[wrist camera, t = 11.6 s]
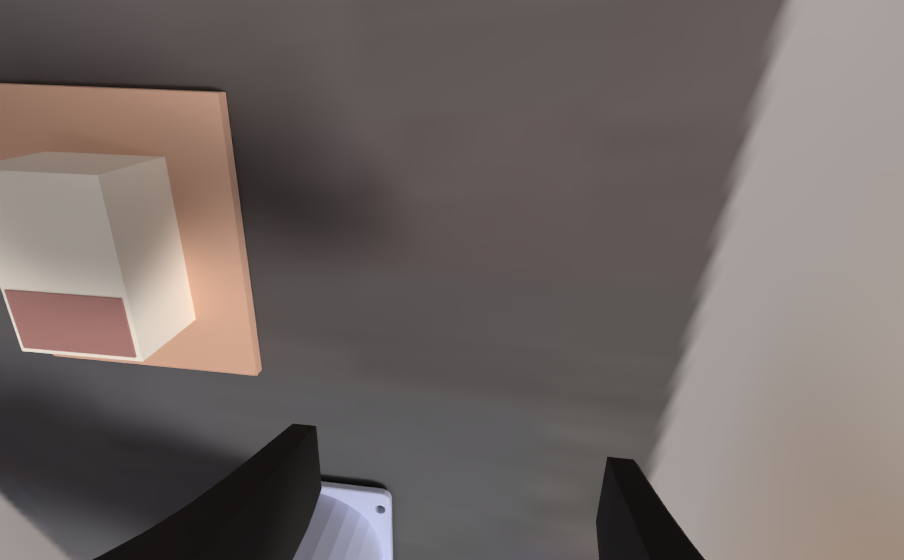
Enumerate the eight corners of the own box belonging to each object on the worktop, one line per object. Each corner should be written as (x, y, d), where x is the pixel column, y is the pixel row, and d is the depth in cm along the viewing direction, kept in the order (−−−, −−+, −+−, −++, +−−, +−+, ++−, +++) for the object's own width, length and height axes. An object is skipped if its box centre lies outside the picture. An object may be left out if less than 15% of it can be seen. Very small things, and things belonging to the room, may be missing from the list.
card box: (164, 156, 20) (96, 175, 17) (195, 319, 23) (141, 362, 20) (46, 151, 21) (-43, 168, 18) (89, 311, 24) (20, 351, 20)
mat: (261, 369, 24) (256, 375, 24) (61, 350, 25) (53, 355, 25) (225, 91, 20) (218, 92, 19) (-18, 82, 21) (-31, 83, 20)
